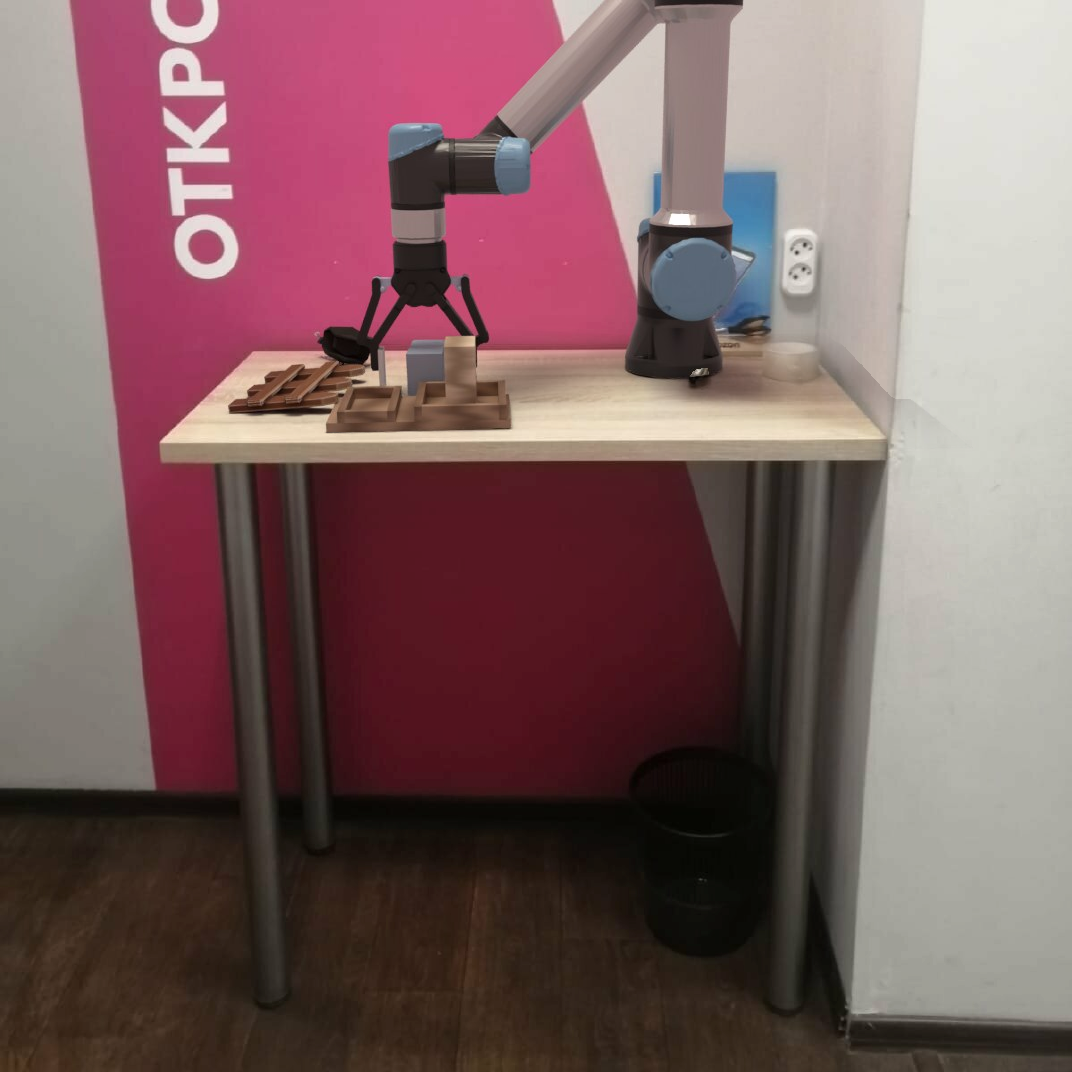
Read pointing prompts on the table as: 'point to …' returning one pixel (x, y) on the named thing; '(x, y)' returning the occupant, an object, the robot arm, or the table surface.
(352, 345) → the toy
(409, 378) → the grey rectangular block
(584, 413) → the table surface
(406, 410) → the tray
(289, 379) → the decorative fence
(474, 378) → the wooden block
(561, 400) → the table surface
